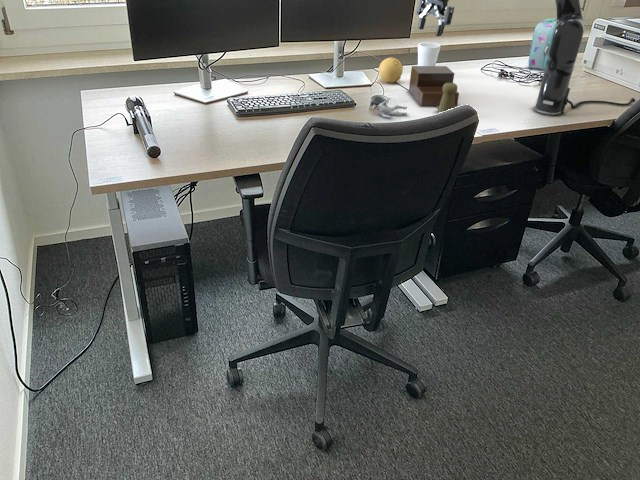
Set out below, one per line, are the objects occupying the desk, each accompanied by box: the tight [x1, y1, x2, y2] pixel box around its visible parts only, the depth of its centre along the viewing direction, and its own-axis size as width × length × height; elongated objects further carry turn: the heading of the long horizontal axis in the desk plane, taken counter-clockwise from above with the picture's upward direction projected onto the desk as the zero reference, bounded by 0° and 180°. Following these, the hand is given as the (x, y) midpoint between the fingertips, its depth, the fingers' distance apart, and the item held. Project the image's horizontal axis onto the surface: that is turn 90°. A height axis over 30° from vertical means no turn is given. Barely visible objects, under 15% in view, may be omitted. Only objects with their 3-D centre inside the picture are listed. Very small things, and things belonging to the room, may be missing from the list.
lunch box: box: [528, 17, 557, 71], centre depth 252 cm, size 27×10×21 cm, turn 147°
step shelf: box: [408, 65, 460, 107], centre depth 208 cm, size 18×14×10 cm
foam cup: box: [417, 41, 441, 66], centre depth 233 cm, size 10×9×13 cm
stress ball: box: [378, 56, 404, 83], centre depth 224 cm, size 10×10×10 cm
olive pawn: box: [437, 82, 459, 114], centre depth 193 cm, size 6×6×11 cm
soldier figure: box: [372, 97, 408, 119], centre depth 192 cm, size 8×5×12 cm
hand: (429, 32), depth 195 cm, fingers open, 8 cm apart
